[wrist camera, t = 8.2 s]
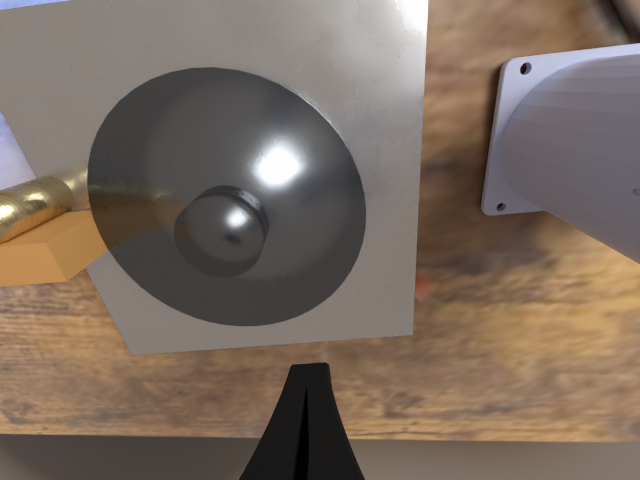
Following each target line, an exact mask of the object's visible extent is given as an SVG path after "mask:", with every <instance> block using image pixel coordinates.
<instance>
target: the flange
mask: <svg viewBox="0 0 640 480" xmlns="http://www.w3.org/2000/svg"><path fill="white" fill-rule="evenodd" d="M87 188H88V197H89V203H90V207H91V210H86V211H75V212H64V213H62V214H60V215H58V216H56V217H54V218H52V219H50V220H48V221H46V222H44V223H42V224H40V225H37V226H35V227H33V228H31V229H29V230H27V231H25V232H23V233H21V234H19V235H17V236H15V237H13V238H11V239H9V240H7V241H5V242H3V243H1V244H0V287H2V286H15V285H28V284H41V283H54V282H67V281H69V280H70V279H71V278H73V277H74V276H75V275H76V274H78V273H79V272H80V271H82V270H83V269H84V268H86V267H87V266H88V265H89V264H91V263H92V262H93V261H95V260H96V259H97V258H99V257H100V256H101V255H102V254H104V253H105V252H106V251H108V250H109V252H110V253H111V254H112V256H113V257H114V259H115V260H116V262H117V263H118V264H119V265H120V266H121V268H122V269H123V270H124V271H125V272H126V273H127V274H128V276H129V277H130V278H132V279H133V280H134V281H135V282H136V283H137V284H138V285H139V286H140V287H141V288H143V289H144V290H145V291H146V292H148V293H149V294H150V295H152V296H153V297H154V298H156V299H158V300H159V301H161V302H162V303H164V304H166V305H167V306H169V307H171V308H173V309H175V310H177V311H179V312H181V313H184V314H186V315H189V316H192V317H194V318H197V319H200V320H204V321H208V322H211V323H217V324H222V325H229V326H262V325H270V324H274V323H279V322H283V321H286V320H289V319H292V318H295V317H298V316H300V315H302V314H304V313H306V312H308V311H310V310H312V309H313V308H315V307H316V306H318V305H320V304H321V303H323V302H324V301H325V300H326V299H327V298H329V297H330V296H331V295H332V294H333V293H334V292H335V291H336V290H337V289H338V288H339V287H340V286H341V285H342V283H343V282H344V281H345V279H346V278H347V276H348V275H349V273H350V272H351V270H352V268H353V266H354V264H355V262H356V260H357V258H358V256H359V253H360V250H361V247H362V244H363V239H364V234H365V228H366V204H365V194H364V190H363V186H362V182H361V177H360V175H359V172H358V170H357V167H356V165H355V162H354V159H353V157H352V155H351V153H350V151H349V149H348V147H347V146H346V144H345V142H344V140H343V138H342V137H341V136H340V134H339V133H338V131H337V130H336V129H335V127H334V126H333V125H332V123H331V122H330V121H329V120H328V119H327V118H326V117H325V116H324V115H323V114H322V113H321V112H320V111H319V110H318V109H317V108H316V107H315V106H314V105H312V104H311V103H310V102H309V101H307V100H306V99H305V98H303V97H302V96H301V95H299V94H298V93H296V92H294V91H293V90H291V89H289V88H287V87H286V86H284V85H282V84H280V83H278V82H275V81H273V80H270V79H268V78H266V77H263V76H260V75H256V74H252V73H248V72H245V71H240V70H233V69H225V68H216V67H204V68H188V69H183V70H178V71H173V72H169V73H166V74H163V75H161V76H158V77H155V78H152V79H150V80H148V81H147V82H145V83H143V84H141V85H140V86H138V87H136V88H134V89H133V90H132V91H131V92H129V93H128V94H127V95H126V96H125V97H123V98H122V99H121V100H120V101H119V102H118V103H117V104H116V105H115V106H114V107H113V109H112V110H111V111H110V112H109V113H108V115H107V116H106V117H105V119H104V121H103V123H102V124H101V126H100V128H99V130H98V131H97V134H96V136H95V139H94V142H93V145H92V147H91V151H90V156H89V162H88V169H87Z"/></svg>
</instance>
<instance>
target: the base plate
mask: <svg viewBox="0 0 640 480" xmlns="http://www.w3.org/2000/svg"><path fill="white" fill-rule="evenodd" d="M427 12H428V0H70V1H63V2H56V3H48V4H41V5H34V6H27V7H20V8H12V9H5V10H0V110H1V112H2V114H3V116H4V117H5V119H6V121H7V123H8V125H9V127H10V129H11V131H12V132H13V134H14V136H15V138H16V140H17V142H18V144H19V145H20V147H21V149H22V151H23V153H24V155H25V157H26V159H27V160H28V162H29V164H30V166H31V168H32V170H33V172H34V173H35V175H36V177H37V179H34V180H31V181H28V182H25V183H22V184H18V185H15V186H12V187H9V188H6V189H3V190H0V244H1V243H3V242H5V241H7V240H9V239H11V238H13V237H15V236H17V235H19V234H21V233H23V232H25V231H27V230H29V229H31V228H33V227H35V226H37V225H40V224H42V223H44V222H46V221H48V220H50V219H52V218H54V217H56V216H58V215H60V214H62V213H64V212H75V211H86V210H91V207H90V203H89V197H88V188H87V169H88V162H89V156H90V151H91V147H92V145H93V142H94V139H95V136H96V134H97V131H98V130H99V128H100V126H101V124H102V123H103V121H104V119H105V117H106V116H107V115H108V113H109V112H110V111H111V110H112V109H113V107H114V106H115V105H116V104H117V103H118V102H119V101H120V100H121V99H122V98H123V97H125V96H126V95H127V94H128V93H129V92H131V91H132V90H133V89H134V88H136V87H138V86H140V85H141V84H143V83H145V82H147V81H148V80H150V79H152V78H155V77H158V76H161V75H163V74H166V73H169V72H173V71H178V70H183V69H188V68H204V67H216V68H225V69H233V70H240V71H245V72H248V73H252V74H256V75H260V76H263V77H266V78H268V79H270V80H273V81H275V82H278V83H280V84H282V85H284V86H286V87H287V88H289V89H291V90H293V91H294V92H296V93H298V94H299V95H301V96H302V97H303V98H305V99H306V100H307V101H309V102H310V103H311V104H312V105H314V106H315V107H316V108H317V109H318V110H319V111H320V112H321V113H322V114H323V115H324V116H325V117H326V118H327V119H328V120H329V121H330V122H331V123H332V125H333V126H334V127H335V129H336V130H337V131H338V133H339V134H340V136H341V137H342V138H343V140H344V142H345V144H346V146H347V147H348V149H349V151H350V153H351V155H352V157H353V159H354V162H355V165H356V167H357V170H358V172H359V175H360V177H361V182H362V186H363V190H364V194H365V204H366V228H365V234H364V239H363V244H362V247H361V250H360V253H359V256H358V258H357V260H356V262H355V264H354V266H353V268H352V270H351V272H350V273H349V275H348V276H347V278H346V279H345V281H344V282H343V283H342V285H341V286H340V287H339V288H338V289H337V290H336V291H335V292H334V293H333V294H332V295H331V296H330V297H329V298H327V299H326V300H325V301H324V302H323V303H321V304H320V305H318V306H316V307H315V308H313V309H312V310H310V311H308V312H306V313H304V314H302V315H300V316H298V317H295V318H292V319H289V320H286V321H283V322H279V323H274V324H270V325H262V326H229V325H222V324H217V323H211V322H208V321H204V320H200V319H197V318H194V317H192V316H189V315H186V314H184V313H181V312H179V311H177V310H175V309H173V308H171V307H169V306H167V305H166V304H164V303H162V302H161V301H159V300H158V299H156V298H154V297H153V296H152V295H150V294H149V293H148V292H146V291H145V290H144V289H143V288H141V287H140V286H139V285H138V284H137V283H136V282H135V281H134V280H133V279H132V278H130V277H129V276H128V274H127V273H126V272H125V271H124V270H123V269H122V268H121V266H120V265H119V264H118V263H117V262H116V260H115V259H114V257H113V256H112V254H111V253H110V252H109V250H108V251H106V252H105V253H104V254H102V255H101V256H100V257H99V258H97V259H96V260H95V261H93V262H92V263H91V264H89V265H88V266H87V267H86V268H85V269H86V270H87V272H88V274H89V276H90V278H91V280H92V282H93V284H94V285H95V287H96V289H97V291H98V293H99V295H100V297H101V298H102V300H103V302H104V304H105V306H106V308H107V310H108V312H109V313H110V315H111V317H112V319H113V321H114V323H115V325H116V326H117V328H118V330H119V332H120V334H121V336H122V338H123V340H124V341H125V343H126V345H127V347H128V349H129V351H130V353H131V354H132V355H144V354H158V353H172V352H186V351H200V350H213V349H227V348H241V347H255V346H268V345H282V344H296V343H310V342H323V341H337V340H351V339H365V338H379V337H392V336H406V335H413V321H414V299H415V277H416V255H417V233H418V211H419V188H420V166H421V144H422V122H423V100H424V78H425V56H426V34H427Z"/></svg>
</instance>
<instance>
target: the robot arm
mask: <svg viewBox="0 0 640 480" xmlns="http://www.w3.org/2000/svg"><path fill="white" fill-rule="evenodd" d="M524 63H525V64H526V66H527V69H526V71H525V73H524V74H521V73H520V68H521V66H522V65H523V64H524ZM500 203H502V207H500V208H499V209H497V206H498V205H499V204H500ZM481 210H482V212H483V213H484V214H486V215H488V216H493V215H504V214H515V213H526V212H537V211H546V212H548V213H550V214H552V215H554V216H555V217H557V218H559V219H561V220H562V221H564V222H566V223H568V224H570V225H571V226H573V227H575V228H577V229H578V230H580V231H582V232H584V233H586V234H587V235H589V236H591V237H593V238H594V239H596V240H598V241H600V242H602V243H603V244H605V245H607V246H609V247H611V248H612V249H614V250H616V251H618V252H619V253H621V254H623V255H625V256H627V257H628V258H630V259H632V260H634V261H635V262H637V263H639V264H640V43H637V44H629V45H620V46H612V47H603V48H595V49H587V50H578V51H570V52H561V53H553V54H544V55H536V56H527V57H519V58H512V59H509V60H507V61H506V62H505V63H504V64H503V66H502V68H501V71H500V77H499V84H498V91H497V98H496V104H495V111H494V118H493V125H492V132H491V139H490V146H489V153H488V160H487V167H486V174H485V181H484V188H483V195H482V202H481ZM239 480H365V479H364V477H363V474H362V472H361V470H360V468H359V465H358V463H357V461H356V458H355V456H354V453H353V451H352V448H351V446H350V443H349V441H348V438H347V435H346V433H345V430H344V427H343V424H342V421H341V418H340V415H339V412H338V409H337V405H336V402H335V398H334V394H333V390H332V384H331V377H330V369H329V364H327V363H326V362H325V363H311V364H296V365H292V366H291V367H290V370H289V374H288V377H287V380H286V383H285V385H284V388H283V391H282V393H281V396H280V398H279V401H278V403H277V405H276V408H275V410H274V412H273V415H272V417H271V419H270V421H269V424H268V426H267V428H266V430H265V432H264V434H263V436H262V438H261V440H260V442H259V444H258V446H257V448H256V450H255V452H254V454H253V456H252V458H251V459H250V461H249V463H248V465H247V467H246V468H245V470H244V472H243V474H242V475H241V477H240V479H239Z"/></svg>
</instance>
